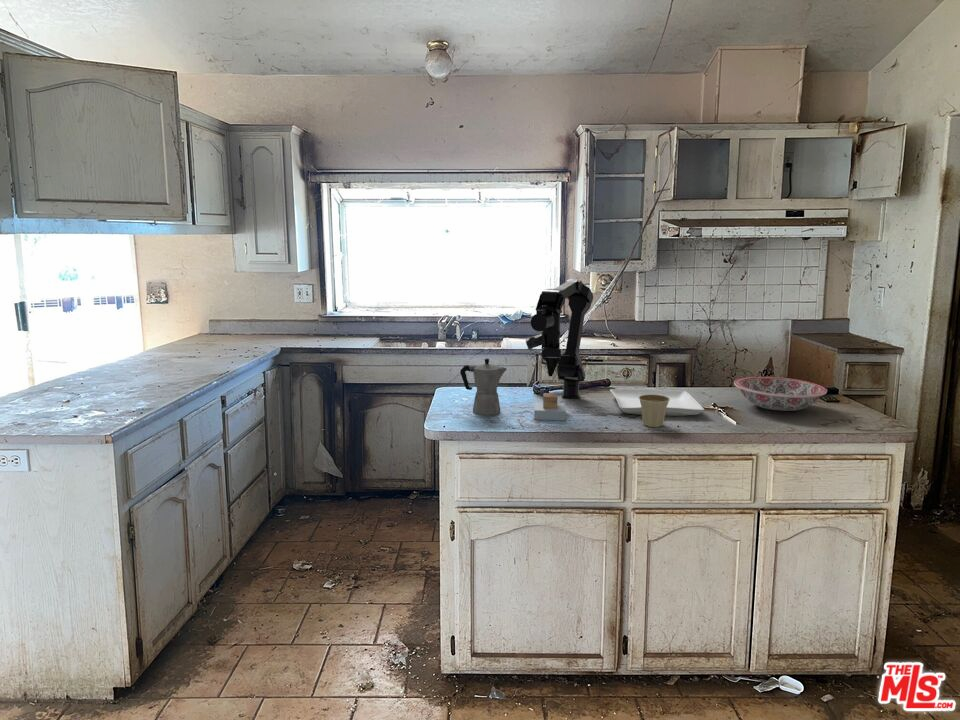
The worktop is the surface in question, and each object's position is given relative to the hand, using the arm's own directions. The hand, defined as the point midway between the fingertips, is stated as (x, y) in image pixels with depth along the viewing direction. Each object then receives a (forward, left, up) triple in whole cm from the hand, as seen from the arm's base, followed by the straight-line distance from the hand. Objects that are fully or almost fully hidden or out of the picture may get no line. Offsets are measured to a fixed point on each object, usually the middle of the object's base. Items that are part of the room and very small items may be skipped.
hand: (550, 373), depth 232 cm
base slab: (+10, 0, -12) cm, 16 cm away
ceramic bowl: (-8, +78, -12) cm, 79 cm away
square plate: (-5, +36, -13) cm, 38 cm away
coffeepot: (+7, -22, -12) cm, 26 cm away
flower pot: (+17, +32, -12) cm, 38 cm away
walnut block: (+10, 0, -9) cm, 13 cm away
